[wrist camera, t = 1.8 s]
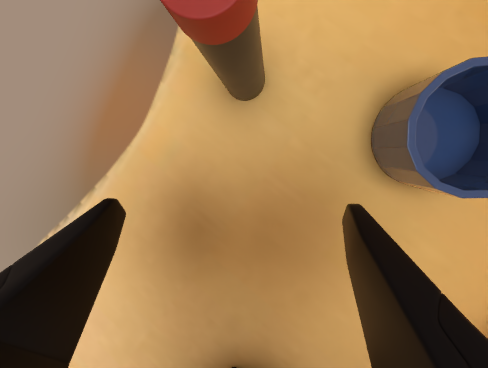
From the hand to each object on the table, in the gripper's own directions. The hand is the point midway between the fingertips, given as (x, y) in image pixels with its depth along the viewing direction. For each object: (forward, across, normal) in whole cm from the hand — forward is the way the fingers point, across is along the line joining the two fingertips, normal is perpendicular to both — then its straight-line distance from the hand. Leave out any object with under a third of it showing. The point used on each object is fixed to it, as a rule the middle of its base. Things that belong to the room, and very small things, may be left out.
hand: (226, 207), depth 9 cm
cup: (+12, -14, +5) cm, 19 cm away
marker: (+15, +1, +1) cm, 15 cm away
